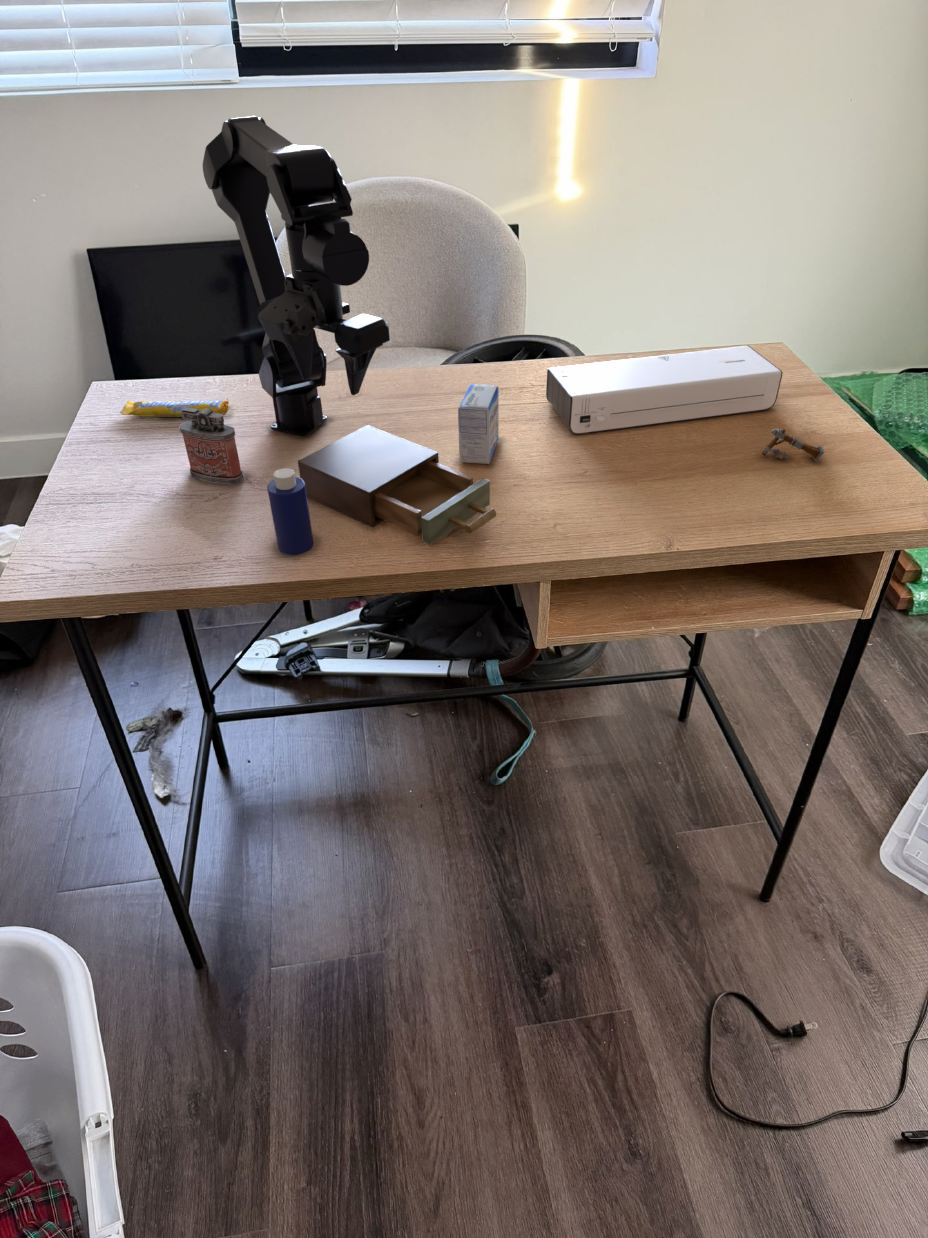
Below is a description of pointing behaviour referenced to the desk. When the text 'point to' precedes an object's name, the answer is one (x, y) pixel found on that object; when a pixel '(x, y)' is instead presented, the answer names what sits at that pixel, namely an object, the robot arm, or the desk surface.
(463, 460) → the medicine box
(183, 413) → the lighter
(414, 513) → the drawer
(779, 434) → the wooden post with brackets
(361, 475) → the cabinet
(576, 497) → the desk surface
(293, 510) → the glue bottle
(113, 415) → the desk surface
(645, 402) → the laminator
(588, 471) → the desk surface
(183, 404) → the candy bar
